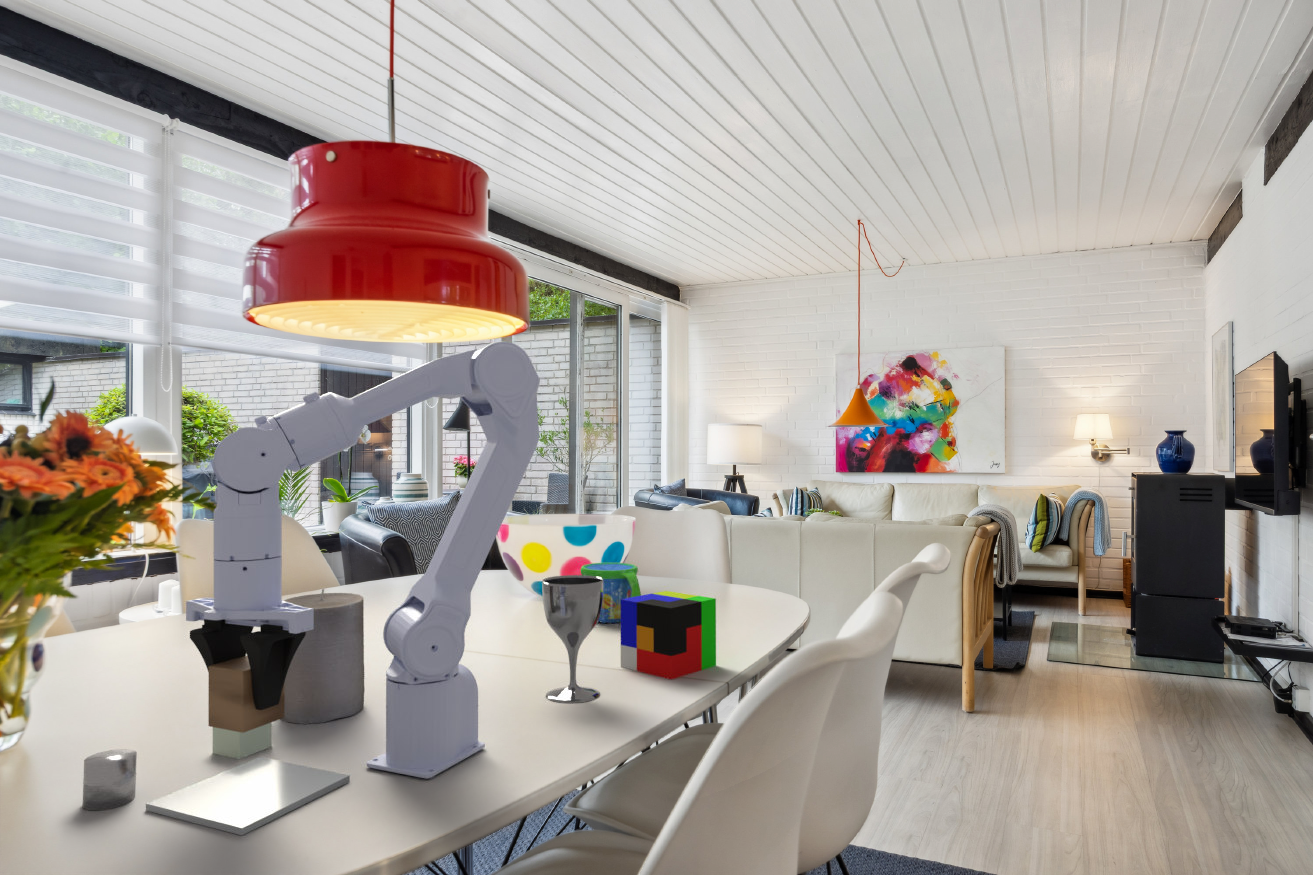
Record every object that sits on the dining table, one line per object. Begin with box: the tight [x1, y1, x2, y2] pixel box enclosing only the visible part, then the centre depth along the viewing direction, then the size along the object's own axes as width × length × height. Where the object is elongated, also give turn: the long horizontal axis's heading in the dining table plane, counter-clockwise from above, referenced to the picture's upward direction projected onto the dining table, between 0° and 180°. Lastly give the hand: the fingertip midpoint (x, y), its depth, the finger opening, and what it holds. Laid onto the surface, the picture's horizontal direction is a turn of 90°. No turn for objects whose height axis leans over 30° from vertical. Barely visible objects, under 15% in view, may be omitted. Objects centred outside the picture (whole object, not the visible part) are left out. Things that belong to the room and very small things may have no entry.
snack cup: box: [580, 562, 642, 624], centre depth 154 cm, size 16×10×10 cm
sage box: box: [212, 722, 273, 760], centre depth 87 cm, size 4×4×4 cm
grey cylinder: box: [82, 748, 138, 811], centre depth 74 cm, size 4×4×4 cm
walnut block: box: [208, 655, 285, 733], centre depth 76 cm, size 4×4×6 cm
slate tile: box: [145, 756, 351, 836], centre depth 75 cm, size 12×12×1 cm
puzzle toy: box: [620, 590, 717, 680], centre depth 121 cm, size 10×10×10 cm
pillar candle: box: [281, 588, 365, 725], centre depth 100 cm, size 10×10×15 cm
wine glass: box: [541, 574, 603, 704], centre depth 107 cm, size 8×8×15 cm
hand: (247, 703), depth 76 cm, fingers closed on walnut block, 4 cm apart
